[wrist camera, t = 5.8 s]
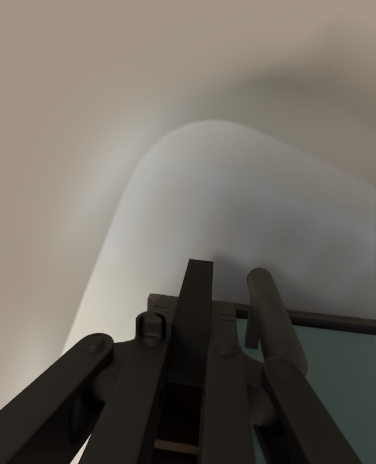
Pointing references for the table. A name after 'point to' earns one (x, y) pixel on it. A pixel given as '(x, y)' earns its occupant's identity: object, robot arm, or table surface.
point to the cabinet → (190, 397)
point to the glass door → (316, 363)
